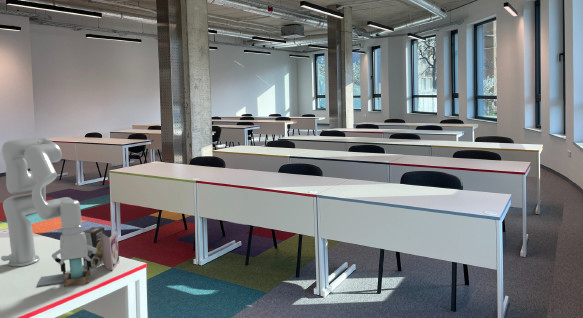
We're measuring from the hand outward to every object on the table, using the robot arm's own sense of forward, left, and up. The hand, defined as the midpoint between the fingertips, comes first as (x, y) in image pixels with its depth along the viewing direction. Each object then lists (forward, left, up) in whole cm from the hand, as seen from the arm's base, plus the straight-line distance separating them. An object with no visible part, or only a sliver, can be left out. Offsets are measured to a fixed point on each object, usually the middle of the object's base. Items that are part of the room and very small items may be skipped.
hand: (76, 271), depth 196 cm
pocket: (0, 0, -4) cm, 4 cm away
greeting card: (+12, +12, -5) cm, 18 cm away
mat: (-10, +5, -4) cm, 12 cm away
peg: (0, 0, -4) cm, 4 cm away
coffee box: (+6, +19, -5) cm, 21 cm away
